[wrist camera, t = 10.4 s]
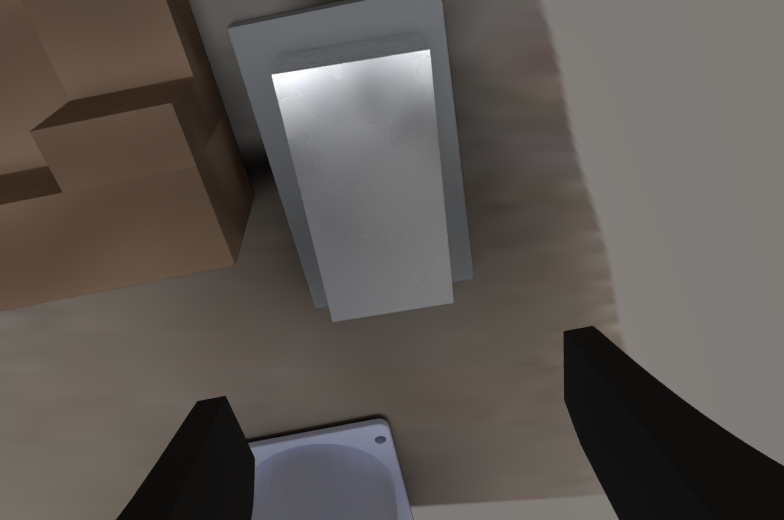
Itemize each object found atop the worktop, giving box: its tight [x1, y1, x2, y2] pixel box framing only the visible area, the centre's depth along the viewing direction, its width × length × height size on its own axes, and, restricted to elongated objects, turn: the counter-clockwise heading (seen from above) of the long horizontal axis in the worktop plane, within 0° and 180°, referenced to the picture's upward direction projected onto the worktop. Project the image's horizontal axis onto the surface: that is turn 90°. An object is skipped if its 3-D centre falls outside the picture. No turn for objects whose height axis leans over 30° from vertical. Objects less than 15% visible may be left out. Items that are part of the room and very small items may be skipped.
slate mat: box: [227, 0, 474, 309], centre depth 19 cm, size 10×6×1 cm, turn 10°
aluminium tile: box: [272, 31, 454, 322], centre depth 17 cm, size 8×4×2 cm, turn 8°
